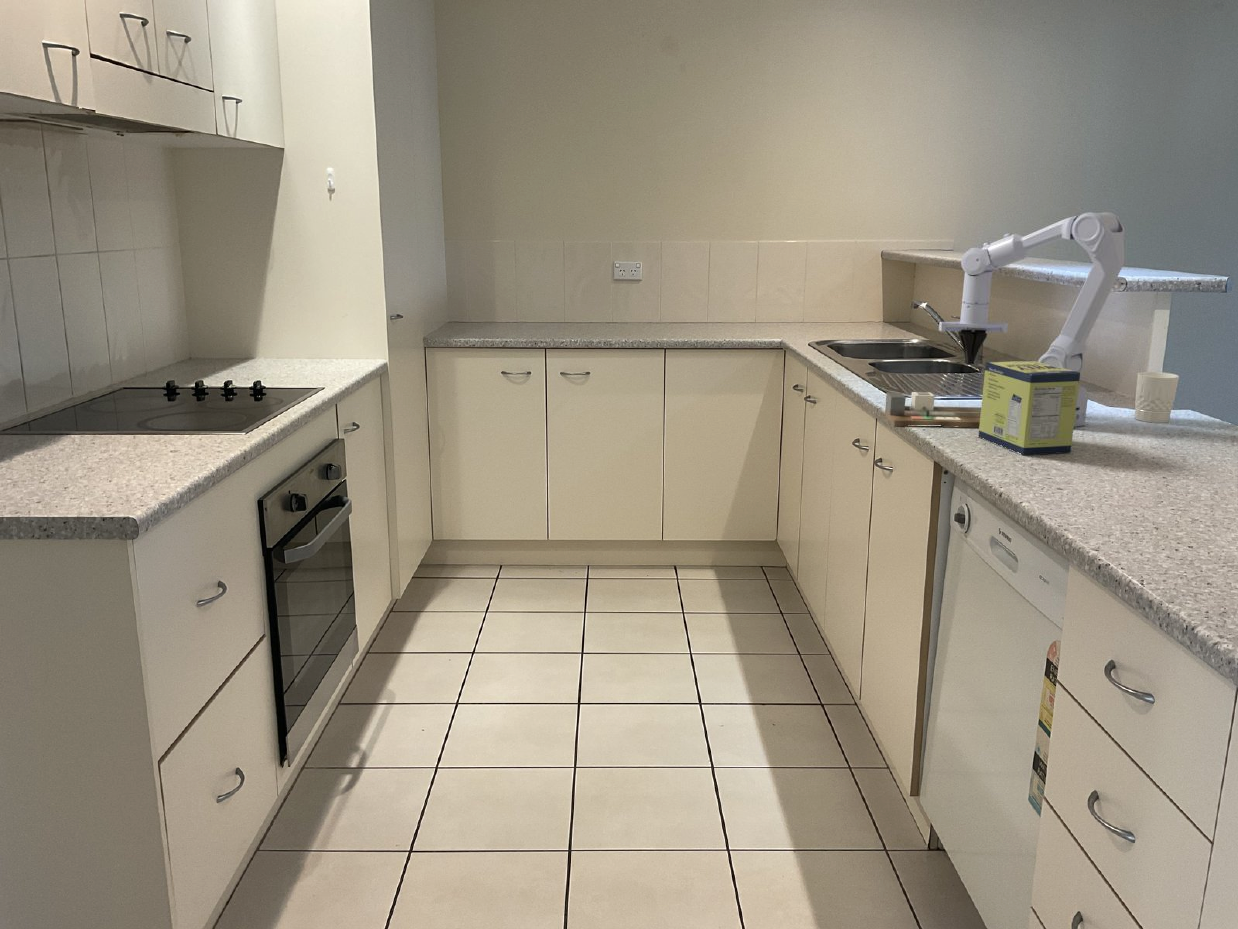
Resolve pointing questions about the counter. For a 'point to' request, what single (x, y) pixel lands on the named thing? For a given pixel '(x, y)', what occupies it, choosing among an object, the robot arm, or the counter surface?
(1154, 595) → the counter surface
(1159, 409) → the white cup
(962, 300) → the robot arm
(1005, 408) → the protein box
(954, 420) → the gauge scale
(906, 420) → the gauge bed
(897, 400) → the anvil and rails
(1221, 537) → the counter surface
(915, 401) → the gauge carriage
